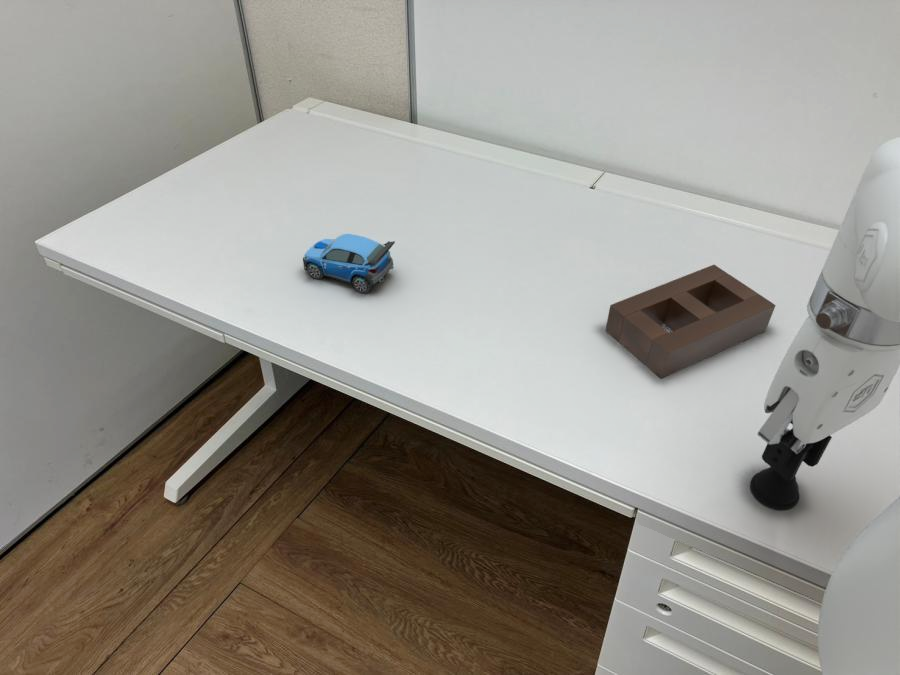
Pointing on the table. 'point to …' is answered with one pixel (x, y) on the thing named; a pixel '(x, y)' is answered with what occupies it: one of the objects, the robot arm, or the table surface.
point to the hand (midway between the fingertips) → (789, 460)
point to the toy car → (350, 260)
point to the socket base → (688, 319)
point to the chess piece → (776, 488)
